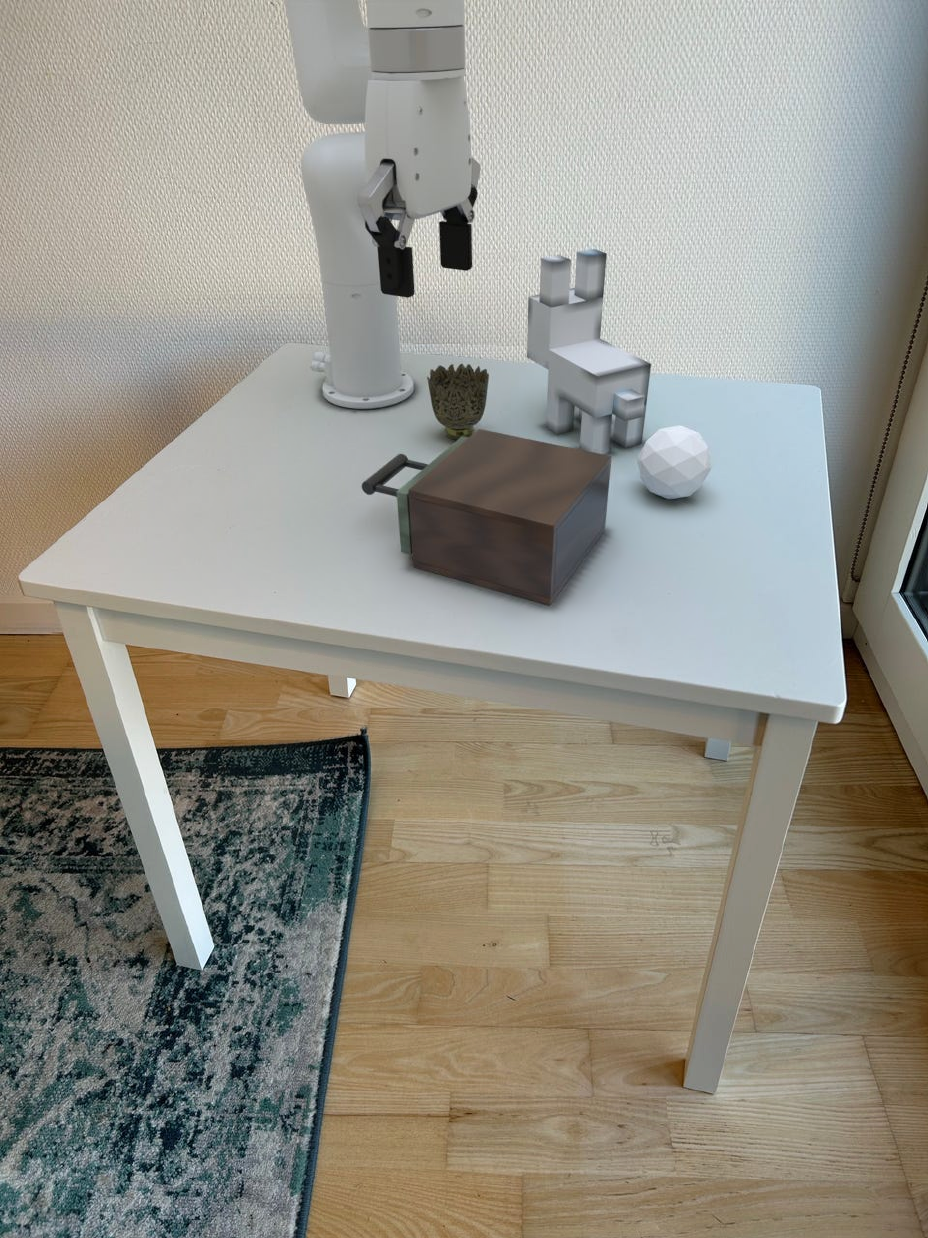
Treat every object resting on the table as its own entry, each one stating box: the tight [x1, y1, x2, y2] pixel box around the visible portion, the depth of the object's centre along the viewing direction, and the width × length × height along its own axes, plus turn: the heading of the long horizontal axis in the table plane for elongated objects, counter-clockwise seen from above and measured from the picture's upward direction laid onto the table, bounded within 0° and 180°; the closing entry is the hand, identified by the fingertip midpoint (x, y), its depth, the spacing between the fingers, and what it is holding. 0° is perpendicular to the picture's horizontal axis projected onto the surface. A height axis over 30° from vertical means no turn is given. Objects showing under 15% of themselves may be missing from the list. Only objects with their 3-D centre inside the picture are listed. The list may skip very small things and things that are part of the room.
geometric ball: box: [636, 424, 713, 500], centre depth 93 cm, size 8×8×8 cm
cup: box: [426, 363, 490, 441], centre depth 106 cm, size 8×7×8 cm
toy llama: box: [526, 248, 652, 455], centre depth 103 cm, size 8×18×20 cm, turn 29°
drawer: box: [361, 436, 469, 556], centre depth 87 cm, size 20×13×7 cm
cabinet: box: [408, 428, 612, 606], centre depth 85 cm, size 15×15×9 cm
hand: (428, 281), depth 78 cm, fingers open, 9 cm apart
